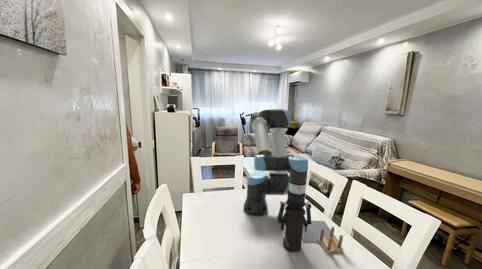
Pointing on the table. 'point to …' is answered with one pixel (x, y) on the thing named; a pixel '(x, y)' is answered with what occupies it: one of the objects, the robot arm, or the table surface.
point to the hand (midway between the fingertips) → (292, 236)
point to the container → (293, 229)
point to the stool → (330, 242)
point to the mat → (316, 231)
